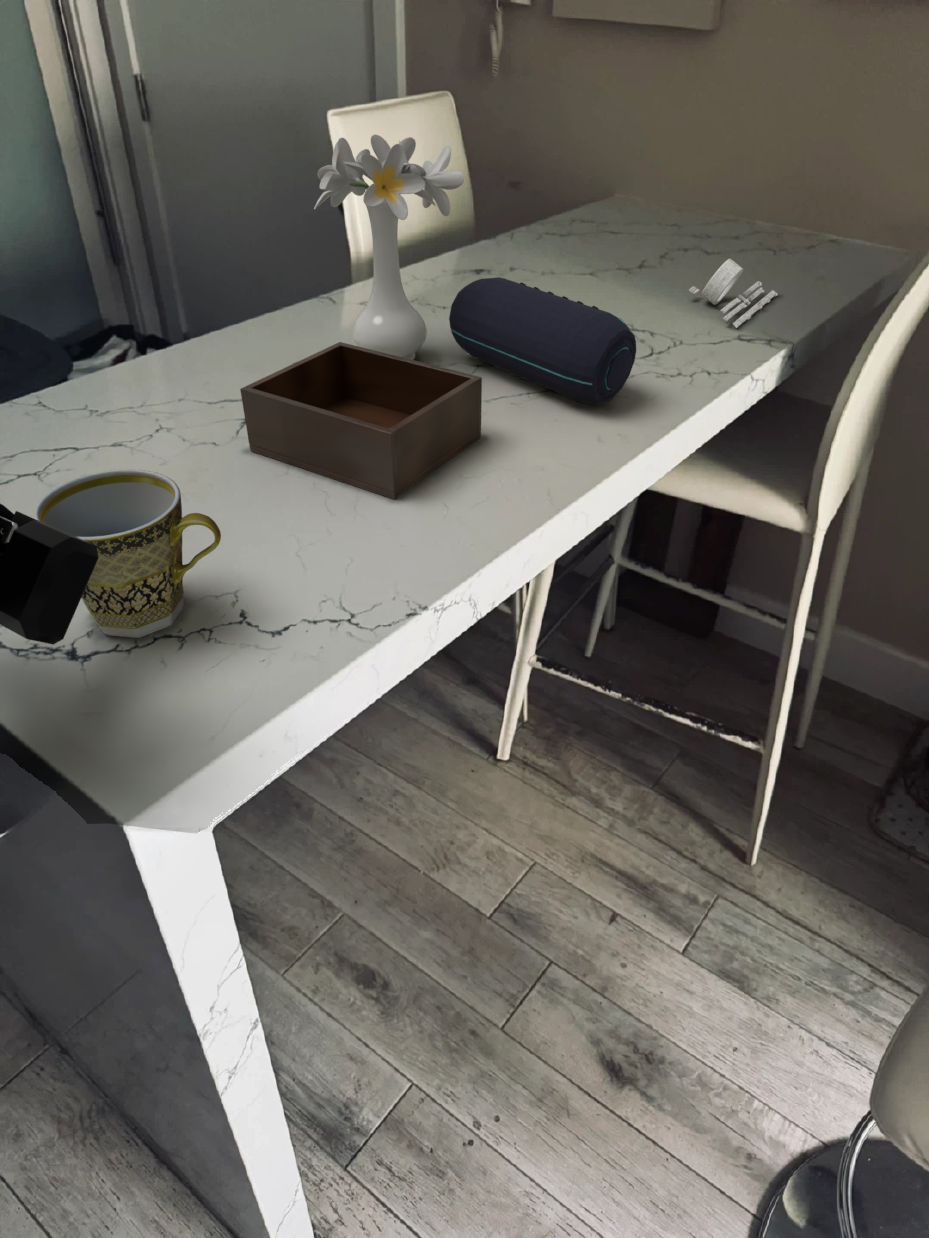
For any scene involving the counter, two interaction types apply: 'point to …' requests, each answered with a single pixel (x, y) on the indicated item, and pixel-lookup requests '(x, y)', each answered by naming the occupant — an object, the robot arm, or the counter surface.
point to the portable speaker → (544, 338)
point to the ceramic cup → (128, 545)
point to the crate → (364, 417)
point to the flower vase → (388, 231)
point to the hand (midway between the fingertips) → (76, 578)
